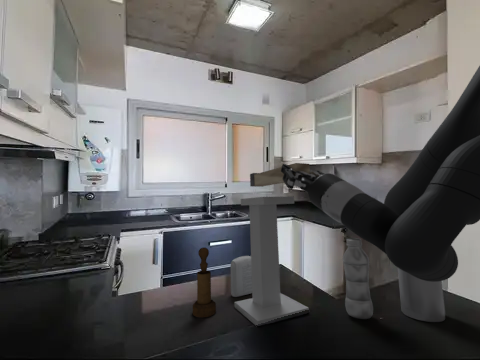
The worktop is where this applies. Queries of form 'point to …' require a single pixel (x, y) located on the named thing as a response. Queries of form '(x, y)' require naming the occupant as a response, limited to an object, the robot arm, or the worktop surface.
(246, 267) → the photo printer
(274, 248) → the stand
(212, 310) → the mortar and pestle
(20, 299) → the worktop surface
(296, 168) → the birch bar
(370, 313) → the plastic bottle
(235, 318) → the worktop surface
